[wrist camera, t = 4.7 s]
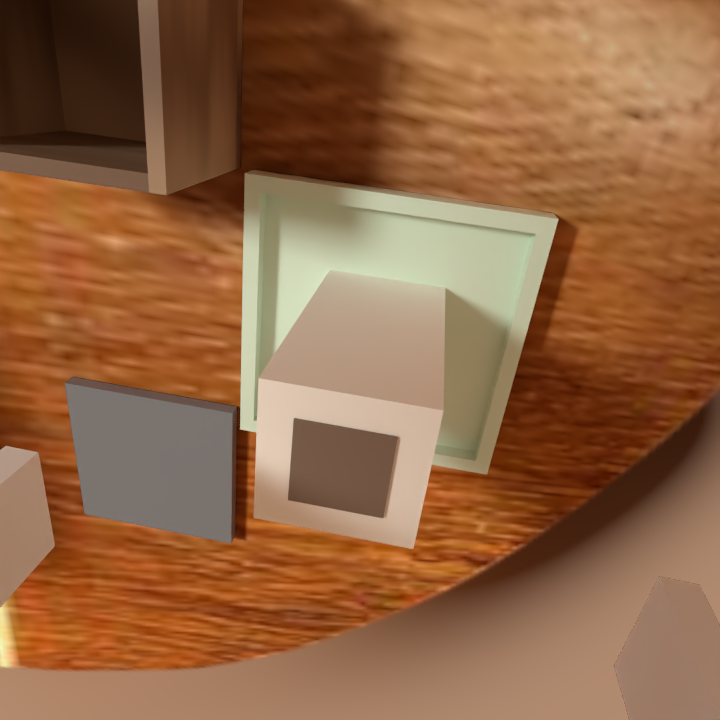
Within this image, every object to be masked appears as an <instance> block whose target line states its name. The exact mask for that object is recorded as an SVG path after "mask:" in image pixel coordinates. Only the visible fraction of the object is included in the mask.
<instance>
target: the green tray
mask: <svg viewBox="0 0 720 720" xmlns="http://www.w3.org/2000/svg"><path fill="white" fill-rule="evenodd" d="M558 220H559V219H558V218H557V217H556V215H555V214H554V213H549V212H542V211H535V210H529V209H522V208H515V207H508V206H501V205H494V204H487V203H480V202H473V201H467V200H460V199H453V198H446V197H439V196H432V195H425V194H418V193H411V192H405V191H398V190H391V189H384V188H377V187H370V186H363V185H356V184H350V183H343V182H336V181H329V180H322V179H315V178H308V177H301V176H294V175H288V174H281V173H274V172H267V171H260V170H251V171H249V172H246V173H245V184H244V240H243V296H242V352H241V407H240V430H246V431H251V432H257V407H258V378H259V377H260V375H261V374H262V372H263V371H264V369H265V368H266V366H267V364H268V363H269V361H270V360H271V358H272V357H273V355H274V354H275V352H276V351H277V349H278V348H279V346H280V345H281V343H282V342H283V340H284V339H285V337H286V336H287V334H288V333H289V331H290V330H291V328H292V327H293V325H294V324H295V322H296V321H297V319H298V317H299V316H300V314H301V313H302V311H303V310H304V308H305V307H306V305H307V304H308V302H309V301H310V299H311V298H312V296H313V295H314V293H315V292H316V290H317V289H318V287H319V286H320V284H321V283H322V281H323V280H324V278H325V277H326V275H327V273H328V272H329V270H336V271H342V272H349V273H355V274H361V275H368V276H374V277H380V278H386V279H393V280H399V281H405V282H412V283H418V284H424V285H431V286H437V287H443V288H445V352H444V411H443V416H442V420H441V425H440V429H439V434H438V439H437V443H436V448H435V452H434V457H433V461H432V465H437V466H442V467H448V468H453V469H459V470H464V471H470V472H475V473H481V474H486V475H487V473H488V469H489V466H490V462H491V458H492V455H493V451H494V448H495V444H496V441H497V437H498V433H499V430H500V426H501V423H502V419H503V416H504V412H505V409H506V405H507V401H508V398H509V394H510V391H511V387H512V384H513V380H514V376H515V373H516V369H517V366H518V362H519V359H520V355H521V351H522V348H523V344H524V341H525V337H526V334H527V330H528V326H529V323H530V319H531V316H532V312H533V309H534V305H535V302H536V298H537V294H538V291H539V287H540V284H541V280H542V277H543V273H544V269H545V266H546V262H547V259H548V255H549V252H550V248H551V244H552V241H553V237H554V234H555V230H556V227H557V223H558Z"/></svg>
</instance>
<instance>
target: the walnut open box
mask: <svg viewBox="0 0 720 720" xmlns="http://www.w3.org/2000/svg"><path fill="white" fill-rule="evenodd" d="M242 37H243V0H0V170H2V171H9V172H15V173H22V174H29V175H35V176H42V177H49V178H55V179H62V180H68V181H75V182H82V183H88V184H95V185H102V186H108V187H115V188H121V189H128V190H135V191H141V192H148V193H155V194H161V195H169V194H171V193H174V192H177V191H179V190H182V189H185V188H187V187H190V186H193V185H195V184H198V183H201V182H204V181H206V180H209V179H212V178H214V177H217V176H220V175H222V174H225V173H228V172H230V171H233V170H236V169H238V168H241V106H242Z"/></svg>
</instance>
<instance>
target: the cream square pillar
mask: <svg viewBox="0 0 720 720" xmlns="http://www.w3.org/2000/svg"><path fill="white" fill-rule="evenodd" d="M444 352H445V288H443V287H437V286H431V285H424V284H418V283H412V282H405V281H399V280H393V279H386V278H380V277H374V276H368V275H361V274H355V273H349V272H342V271H336V270H329V272H328V273H327V275H326V277H325V278H324V280H323V281H322V283H321V284H320V286H319V287H318V289H317V290H316V292H315V293H314V295H313V296H312V298H311V299H310V301H309V302H308V304H307V305H306V307H305V308H304V310H303V311H302V313H301V314H300V316H299V317H298V319H297V321H296V322H295V324H294V325H293V327H292V328H291V330H290V331H289V333H288V334H287V336H286V337H285V339H284V340H283V342H282V343H281V345H280V346H279V348H278V349H277V351H276V352H275V354H274V355H273V357H272V358H271V360H270V361H269V363H268V364H267V366H266V368H265V369H264V371H263V372H262V374H261V375H260V377H259V378H258V407H257V436H256V465H255V493H254V518H256V519H262V520H267V521H272V522H277V523H282V524H287V525H292V526H297V527H302V528H308V529H313V530H318V531H323V532H328V533H333V534H338V535H343V536H348V537H354V538H359V539H364V540H369V541H374V542H379V543H384V544H389V545H394V546H400V547H405V548H410V549H413V548H414V543H415V539H416V534H417V530H418V525H419V521H420V516H421V511H422V507H423V502H424V498H425V493H426V489H427V484H428V480H429V475H430V470H431V466H432V461H433V457H434V452H435V448H436V443H437V439H438V434H439V429H440V425H441V420H442V416H443V411H444Z"/></svg>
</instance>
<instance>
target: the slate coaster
mask: <svg viewBox="0 0 720 720" xmlns="http://www.w3.org/2000/svg"><path fill="white" fill-rule="evenodd" d="M65 388H66V395H67V401H68V408H69V414H70V421H71V427H72V434H73V441H74V447H75V454H76V460H77V467H78V473H79V480H80V487H81V493H82V500H83V506H84V513H85V514H86V515H91V516H96V517H101V518H106V519H111V520H116V521H121V522H126V523H131V524H136V525H141V526H146V527H151V528H156V529H161V530H166V531H171V532H176V533H181V534H186V535H191V536H196V537H201V538H206V539H211V540H216V541H221V542H226V543H232V541H233V539H234V537H235V517H236V449H237V406H231V405H226V404H220V403H215V402H209V401H204V400H198V399H193V398H187V397H181V396H176V395H170V394H165V393H159V392H154V391H148V390H143V389H137V388H131V387H126V386H120V385H115V384H109V383H104V382H98V381H92V380H87V379H81V378H76V377H72V378H71V379H69V380H68V381H67V382H65Z"/></svg>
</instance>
